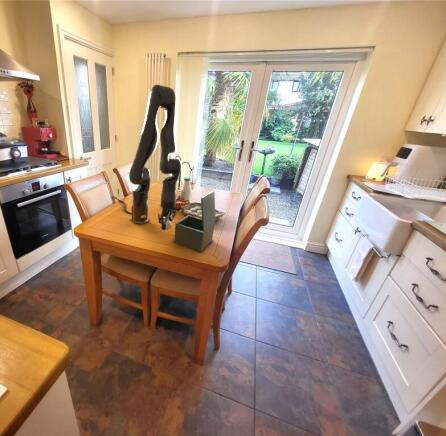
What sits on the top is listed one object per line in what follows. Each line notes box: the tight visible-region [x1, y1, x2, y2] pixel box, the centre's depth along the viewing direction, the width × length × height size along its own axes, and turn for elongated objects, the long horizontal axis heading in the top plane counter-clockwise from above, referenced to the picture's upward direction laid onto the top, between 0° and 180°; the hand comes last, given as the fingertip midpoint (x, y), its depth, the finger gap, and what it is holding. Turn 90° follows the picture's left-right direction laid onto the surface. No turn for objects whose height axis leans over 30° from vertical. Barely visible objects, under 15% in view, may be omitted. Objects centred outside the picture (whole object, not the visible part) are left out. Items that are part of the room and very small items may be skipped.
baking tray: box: [179, 201, 227, 221], centre depth 154 cm, size 30×22×5 cm
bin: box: [173, 215, 216, 253], centre depth 122 cm, size 16×14×11 cm
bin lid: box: [200, 190, 216, 232], centre depth 113 cm, size 17×14×1 cm
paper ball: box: [164, 220, 173, 231], centre depth 125 cm, size 5×5×5 cm
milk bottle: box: [179, 176, 192, 203], centre depth 168 cm, size 8×8×20 cm
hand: (166, 227), depth 126 cm, fingers closed on paper ball, 5 cm apart
